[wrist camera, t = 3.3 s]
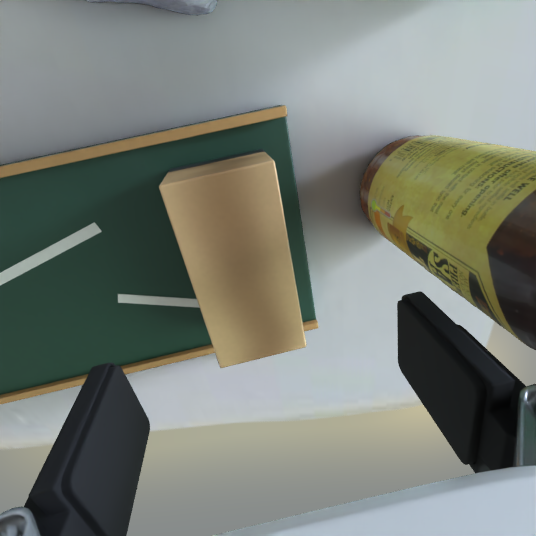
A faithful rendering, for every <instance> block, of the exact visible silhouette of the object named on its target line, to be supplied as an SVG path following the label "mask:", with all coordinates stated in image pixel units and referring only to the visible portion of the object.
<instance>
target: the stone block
mask: <svg viewBox="0 0 536 536" xmlns="http://www.w3.org/2000/svg"><path fill="white" fill-rule="evenodd" d="M86 1H88V2H107V1H112V2H120V3H128V2H131V3H140V4H148V5H152V6H154V7H156V8H162V9H168V10H171V11H175V12H179V13H184V14H188V15H200V14H208V13H210V12H212V11H213V10H214V8H215V7H216V5H217V0H86Z"/></svg>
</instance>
